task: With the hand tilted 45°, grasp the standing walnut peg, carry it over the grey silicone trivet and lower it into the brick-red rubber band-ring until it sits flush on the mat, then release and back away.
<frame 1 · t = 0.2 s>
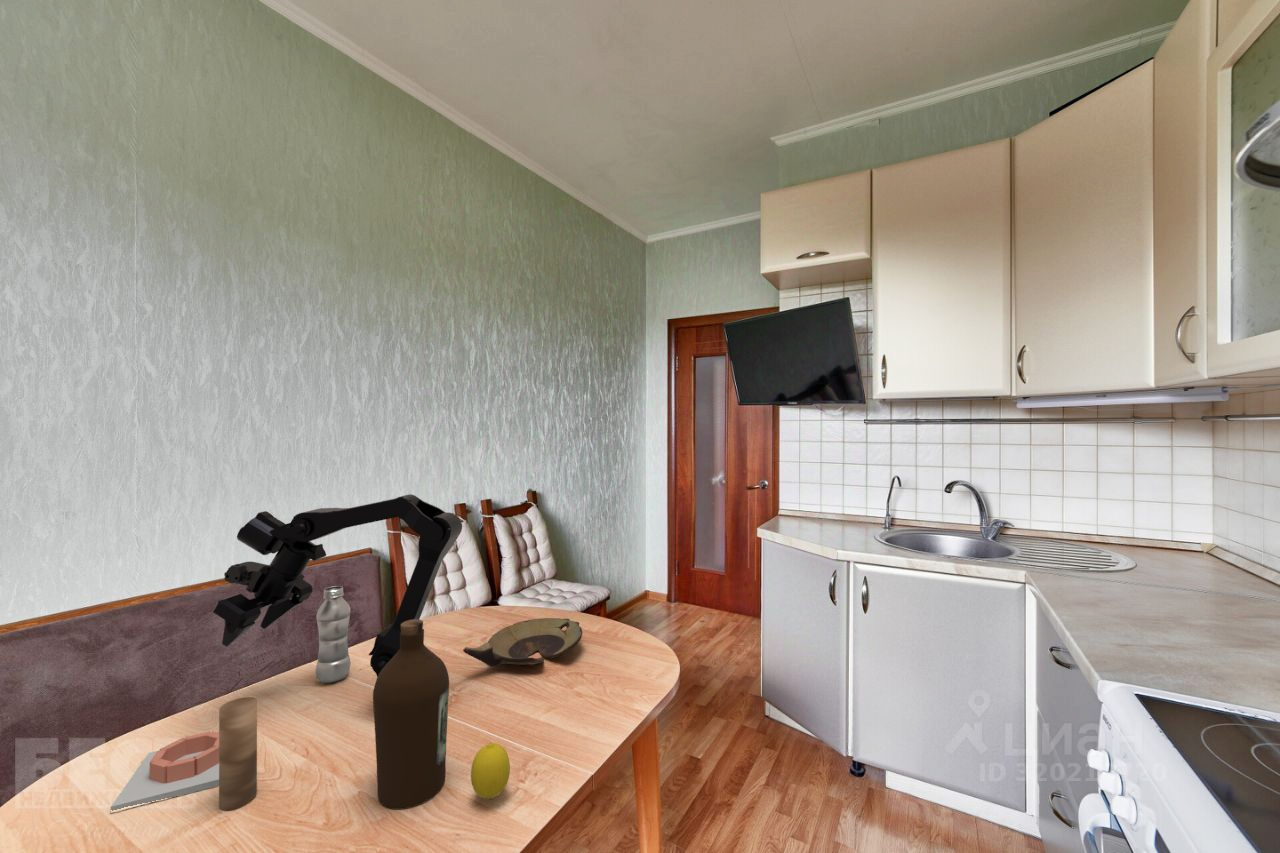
hand: (244, 635, 100), 15 cm above the table, tool tilted 30°, fingers open, 9 cm apart
band dock: (189, 770, 82), on the table
walnut peg: (238, 799, 75), on the table
lemon: (490, 799, 75), on the table
oil lamp: (524, 658, 123), on the table
plastic bottle: (333, 680, 112), on the table
olive oil: (412, 789, 78), on the table
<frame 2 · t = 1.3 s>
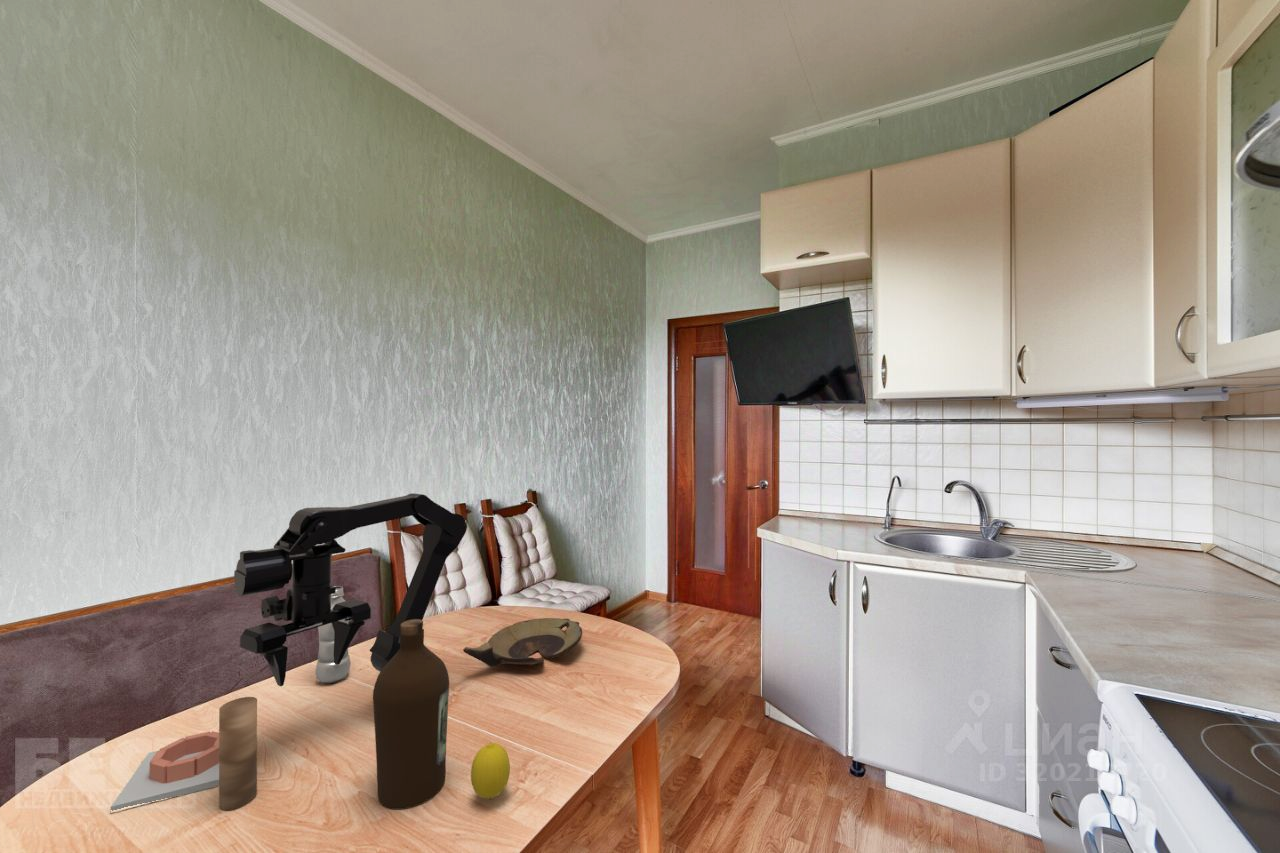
hand: (310, 674, 87), 13 cm above the table, tool pointing down, fingers open, 9 cm apart
nothing on the table moved.
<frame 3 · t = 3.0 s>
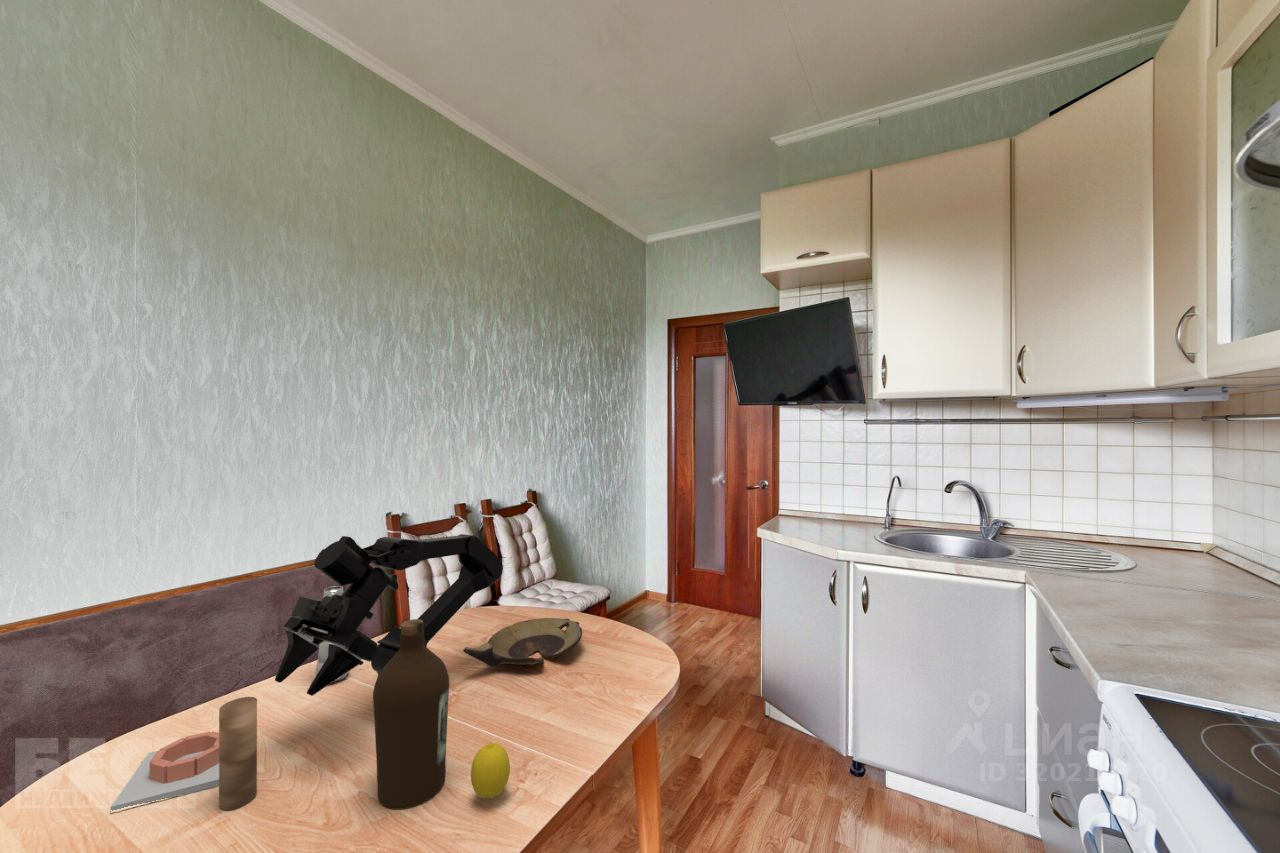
hand: (292, 687, 82), 13 cm above the table, tool tilted 45°, fingers open, 9 cm apart
nothing on the table moved.
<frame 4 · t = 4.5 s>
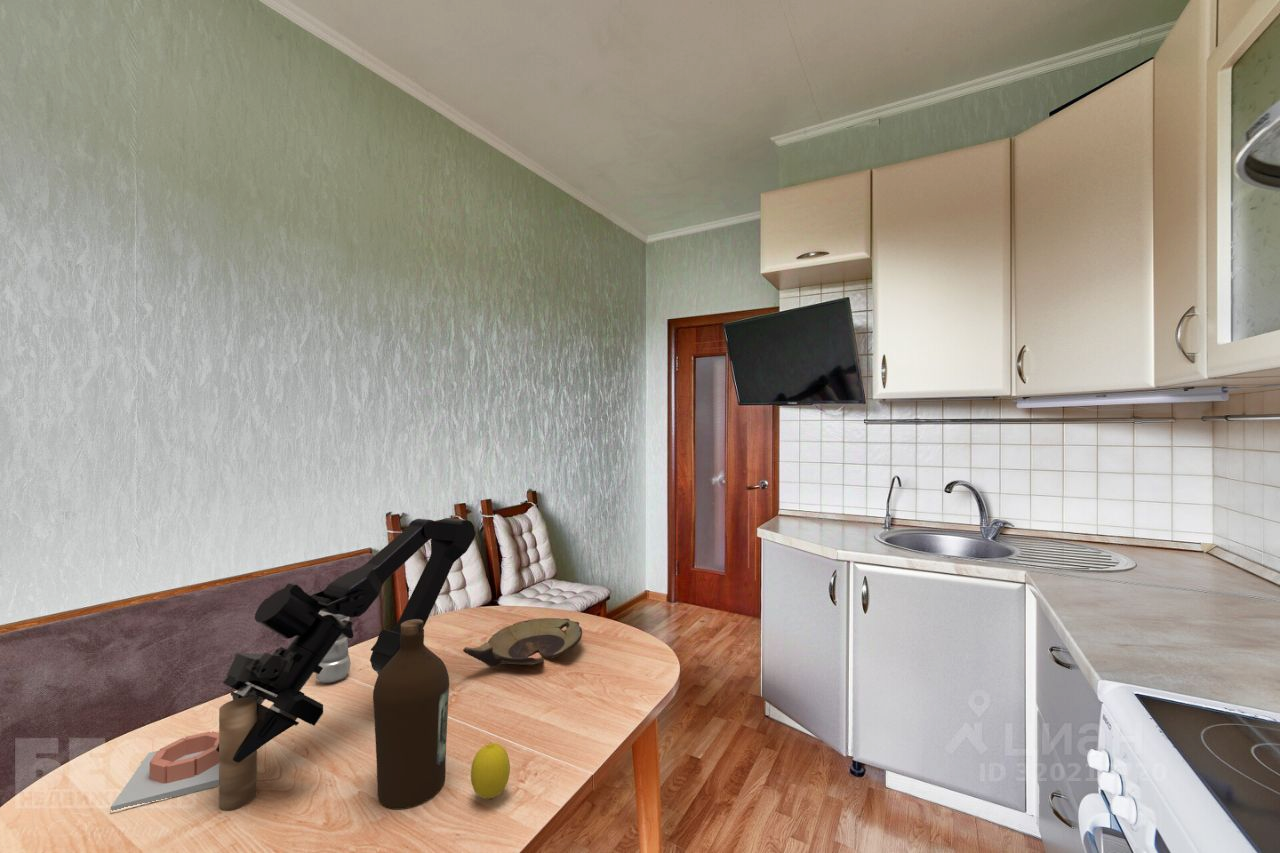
hand: (227, 756, 74), 7 cm above the table, tool tilted 45°, fingers closed on walnut peg, 4 cm apart
walnut peg: (238, 799, 75), on the table, touching gripper
everything else where it was.
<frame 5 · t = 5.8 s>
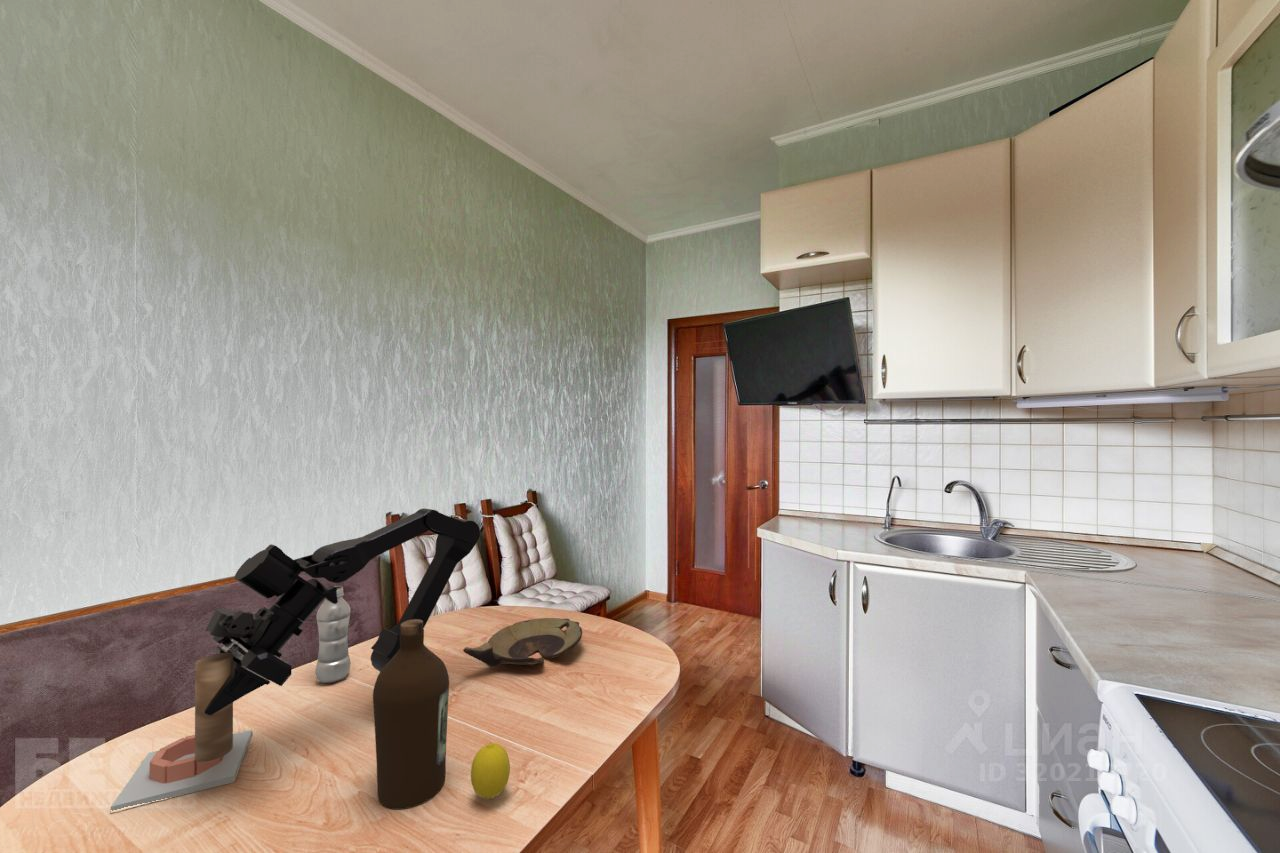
hand: (202, 708, 76), 13 cm above the table, tool tilted 45°, fingers closed on walnut peg, 4 cm apart
walnut peg: (214, 752, 77), point 6 cm above the table, touching gripper
everything else where it was.
when the fingers open (9 cm above the table, at t = 7.4 s): walnut peg stays where it is, resting on band dock.
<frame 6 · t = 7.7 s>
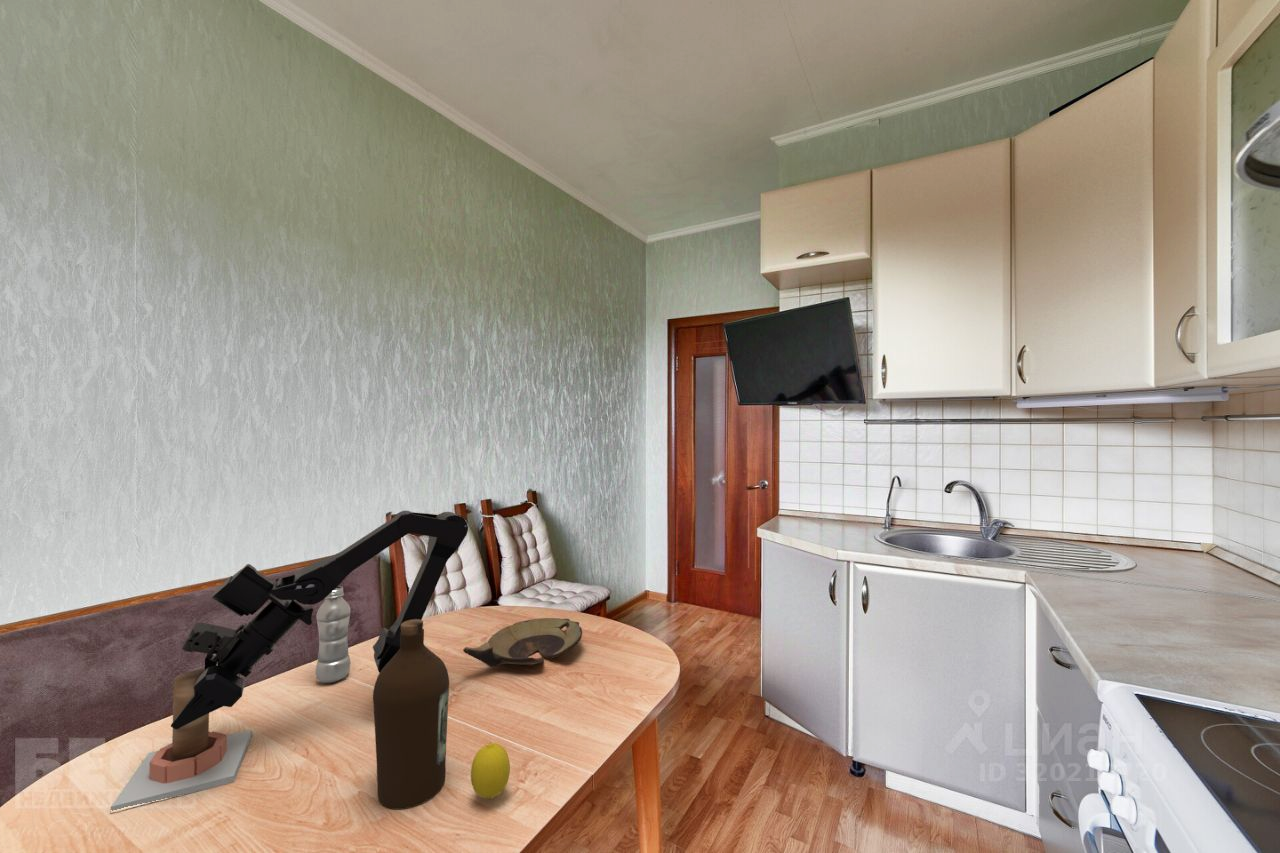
hand: (178, 716, 82), 9 cm above the table, tool tilted 45°, fingers open, 7 cm apart
walnut peg: (190, 763, 82), point 1 cm above the table, touching band dock
everything else where it was.
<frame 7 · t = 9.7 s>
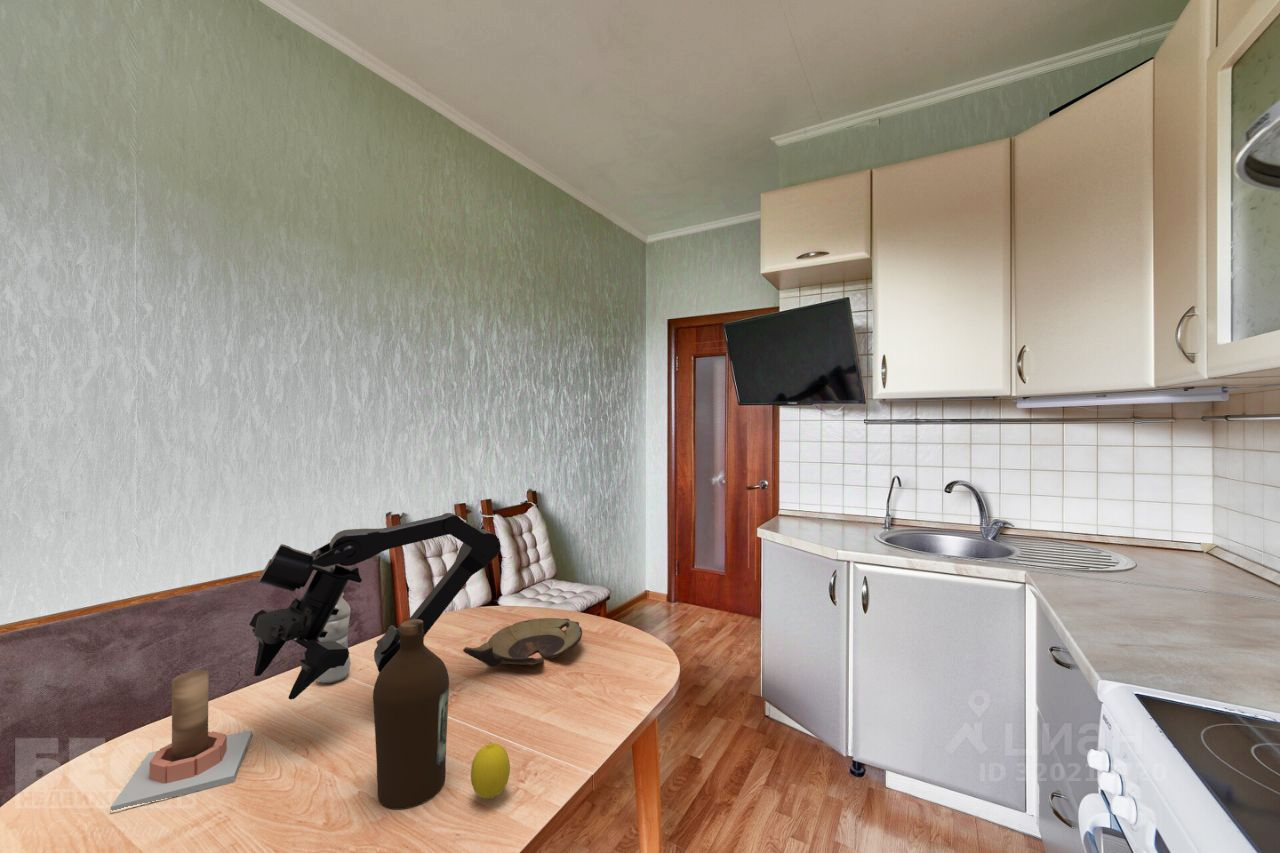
hand: (273, 687, 88), 10 cm above the table, tool tilted 25°, fingers open, 9 cm apart
nothing on the table moved.
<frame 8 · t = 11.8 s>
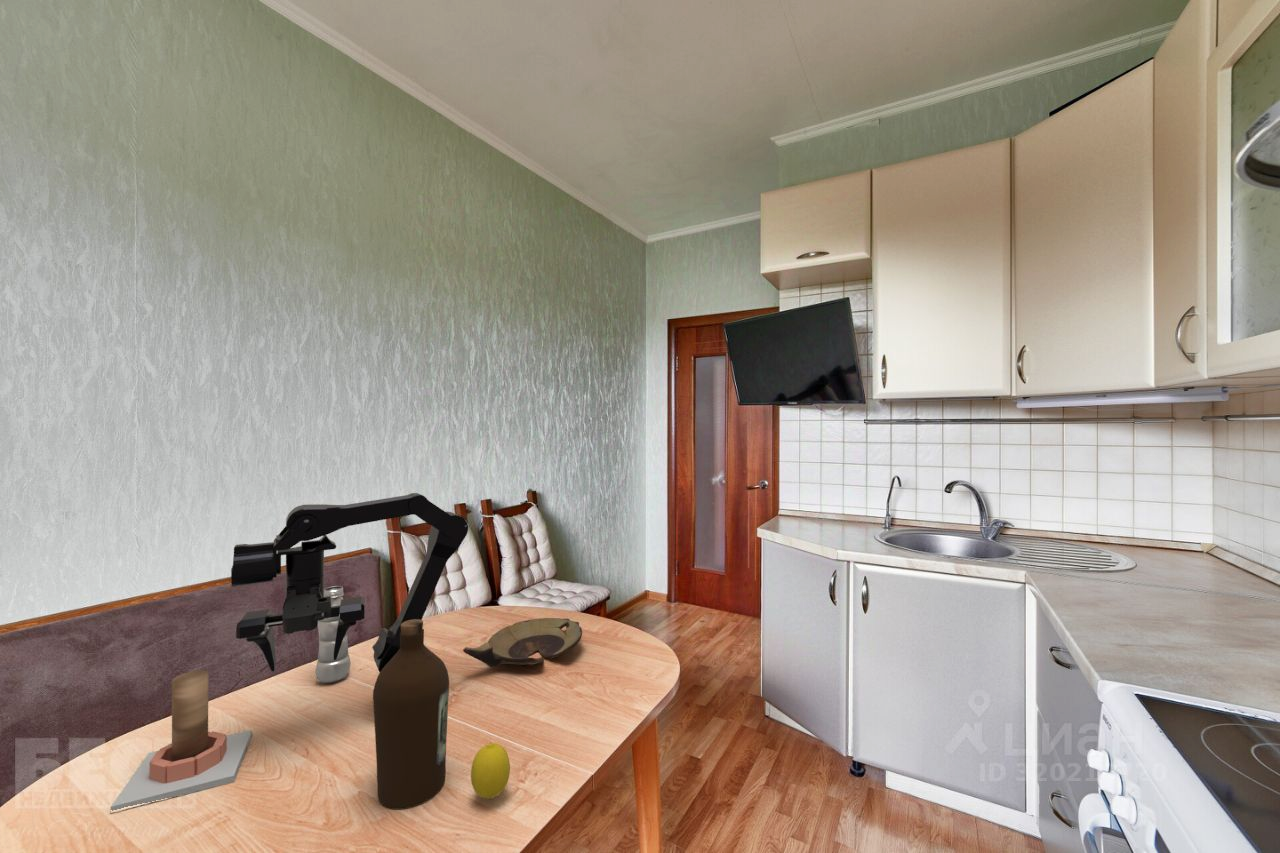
hand: (305, 664, 91), 13 cm above the table, tool pointing down, fingers open, 9 cm apart
nothing on the table moved.
at the end: walnut peg 0.1 cm off-centre on the band dock, point 1.0 cm above the band dock's base; walnut peg tilted 0°; the gripper is holding nothing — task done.
